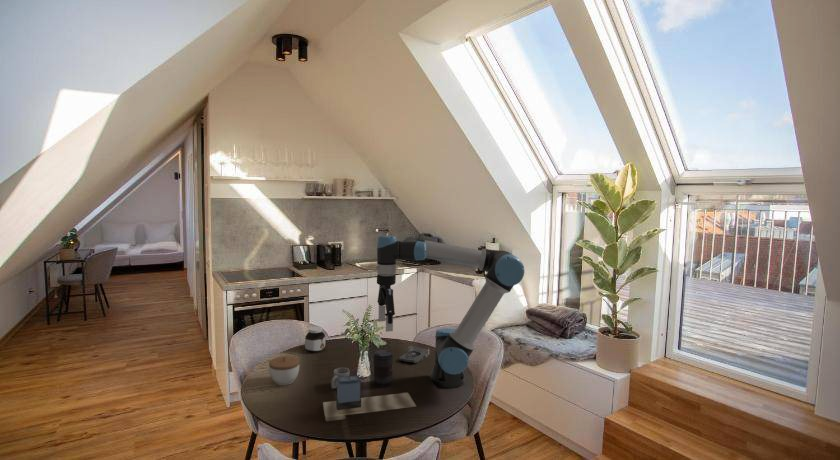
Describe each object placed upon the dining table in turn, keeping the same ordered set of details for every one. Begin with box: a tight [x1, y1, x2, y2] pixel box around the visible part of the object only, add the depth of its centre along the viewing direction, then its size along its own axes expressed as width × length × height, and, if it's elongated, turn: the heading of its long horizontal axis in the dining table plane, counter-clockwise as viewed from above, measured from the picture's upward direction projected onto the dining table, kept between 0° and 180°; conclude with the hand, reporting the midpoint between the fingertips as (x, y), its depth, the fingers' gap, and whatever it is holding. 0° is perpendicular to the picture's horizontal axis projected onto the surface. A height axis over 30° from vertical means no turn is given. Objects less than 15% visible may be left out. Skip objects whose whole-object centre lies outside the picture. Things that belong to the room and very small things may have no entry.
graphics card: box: [398, 345, 430, 364], centre depth 226 cm, size 17×4×12 cm
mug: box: [330, 367, 350, 390], centre depth 191 cm, size 10×7×7 cm
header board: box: [322, 392, 417, 422], centre depth 173 cm, size 34×12×9 cm, turn 107°
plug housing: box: [336, 375, 361, 403], centre depth 170 cm, size 8×4×8 cm, turn 107°
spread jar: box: [304, 325, 326, 354], centre depth 234 cm, size 12×11×12 cm
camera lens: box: [373, 349, 394, 388], centre depth 192 cm, size 8×8×15 cm
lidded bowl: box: [268, 355, 301, 386], centre depth 194 cm, size 13×13×11 cm
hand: (385, 326), depth 183 cm, fingers open, 13 cm apart
